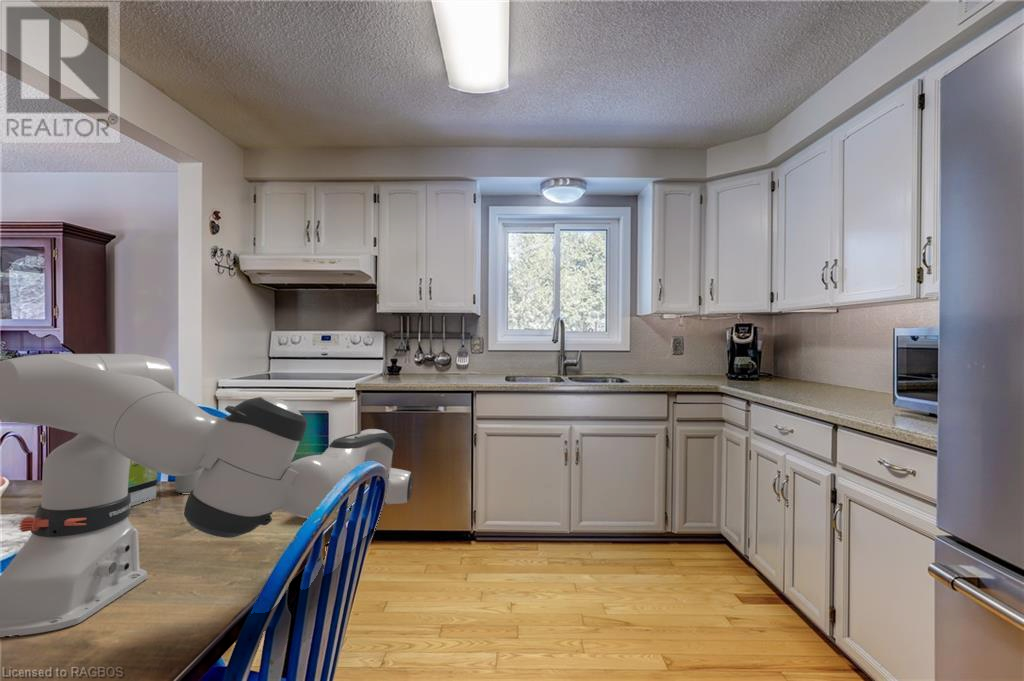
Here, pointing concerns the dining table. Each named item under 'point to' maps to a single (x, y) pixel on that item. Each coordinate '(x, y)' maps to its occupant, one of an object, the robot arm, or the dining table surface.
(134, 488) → the tea box
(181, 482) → the can
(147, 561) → the dining table surface
